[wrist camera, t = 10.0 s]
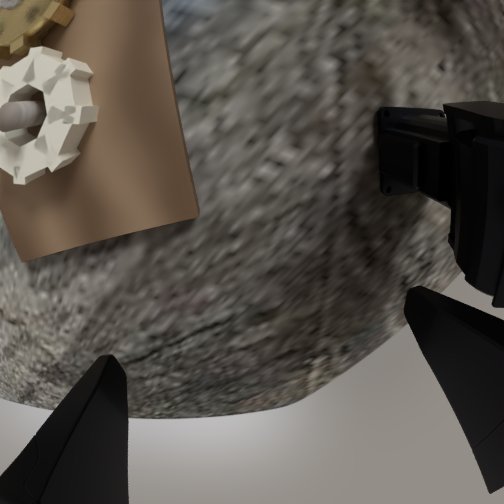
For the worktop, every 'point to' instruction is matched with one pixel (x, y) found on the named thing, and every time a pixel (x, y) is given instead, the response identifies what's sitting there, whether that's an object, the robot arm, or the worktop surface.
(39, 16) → the gear
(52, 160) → the loose gear
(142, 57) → the gear board
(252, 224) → the worktop surface
